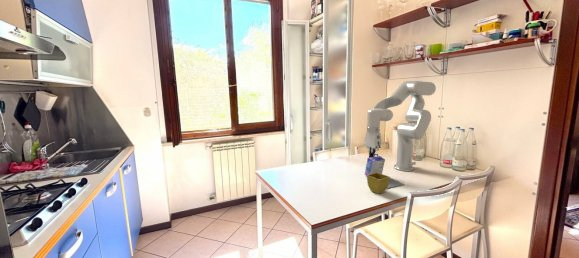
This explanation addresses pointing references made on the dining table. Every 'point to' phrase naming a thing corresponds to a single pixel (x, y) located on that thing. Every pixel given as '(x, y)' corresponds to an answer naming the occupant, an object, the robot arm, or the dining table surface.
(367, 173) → the ink cartridge box
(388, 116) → the robot arm
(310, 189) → the dining table surface
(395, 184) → the mat
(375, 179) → the flower pot
